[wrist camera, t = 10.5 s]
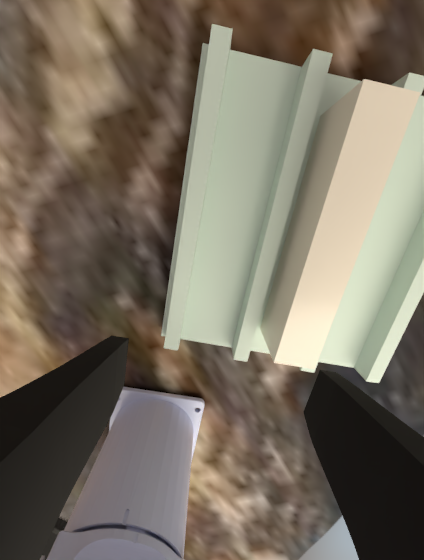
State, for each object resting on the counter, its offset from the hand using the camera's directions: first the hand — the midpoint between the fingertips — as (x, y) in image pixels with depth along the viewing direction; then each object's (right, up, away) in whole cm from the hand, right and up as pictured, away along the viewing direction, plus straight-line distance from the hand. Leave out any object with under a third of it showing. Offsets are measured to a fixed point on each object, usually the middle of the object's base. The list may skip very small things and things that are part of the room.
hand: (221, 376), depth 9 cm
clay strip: (+6, +6, +7) cm, 11 cm away
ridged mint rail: (+6, +7, +8) cm, 12 cm away
